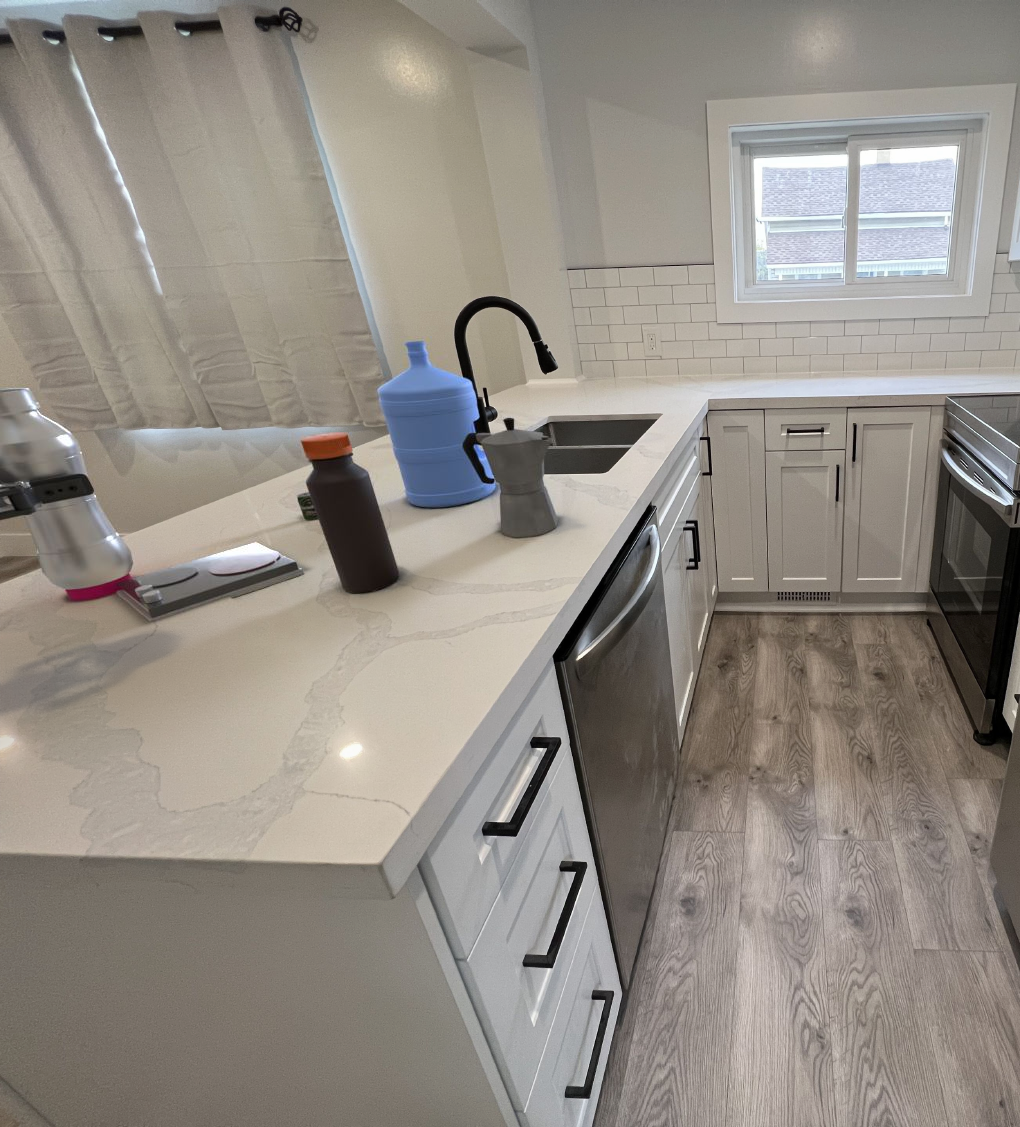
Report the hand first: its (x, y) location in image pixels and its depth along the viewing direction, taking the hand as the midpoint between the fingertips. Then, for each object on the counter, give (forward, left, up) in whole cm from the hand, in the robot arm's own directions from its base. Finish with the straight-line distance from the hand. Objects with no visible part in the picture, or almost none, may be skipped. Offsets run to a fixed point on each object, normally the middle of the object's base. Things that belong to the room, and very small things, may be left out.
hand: (80, 478), depth 62 cm
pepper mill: (0, +24, -20) cm, 31 cm away
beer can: (+29, +31, -20) cm, 46 cm away
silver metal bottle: (-3, 0, -11) cm, 11 cm away
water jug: (+49, +20, -20) cm, 56 cm away
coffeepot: (+45, -7, -20) cm, 49 cm away
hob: (+9, +13, -19) cm, 25 cm away
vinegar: (+21, -6, -20) cm, 29 cm away
